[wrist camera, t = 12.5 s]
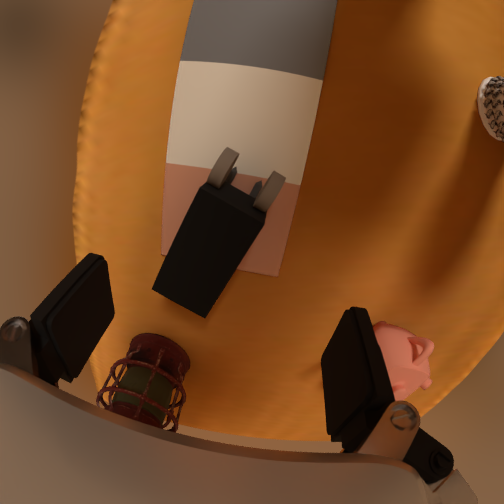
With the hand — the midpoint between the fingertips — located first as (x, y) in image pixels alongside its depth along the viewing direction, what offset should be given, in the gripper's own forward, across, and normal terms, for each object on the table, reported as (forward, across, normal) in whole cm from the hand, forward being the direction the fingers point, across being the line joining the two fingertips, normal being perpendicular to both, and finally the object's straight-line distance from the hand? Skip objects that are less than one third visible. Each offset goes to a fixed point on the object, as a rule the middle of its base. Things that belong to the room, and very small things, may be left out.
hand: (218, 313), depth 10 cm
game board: (+20, +3, -6) cm, 21 cm away
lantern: (+19, +10, +30) cm, 37 cm away
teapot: (+20, -22, +19) cm, 36 cm away
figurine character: (+20, +3, +5) cm, 20 cm away
